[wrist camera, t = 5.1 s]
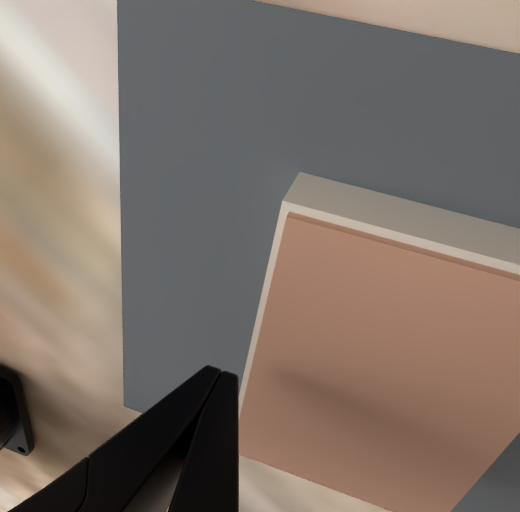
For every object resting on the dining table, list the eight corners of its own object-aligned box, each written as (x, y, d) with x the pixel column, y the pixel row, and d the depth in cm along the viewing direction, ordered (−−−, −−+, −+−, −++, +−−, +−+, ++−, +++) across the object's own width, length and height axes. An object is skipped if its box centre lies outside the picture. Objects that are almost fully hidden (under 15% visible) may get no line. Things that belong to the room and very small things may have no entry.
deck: (246, 394, 15) (430, 458, 14) (225, 452, 13) (440, 533, 12) (299, 171, 10) (583, 245, 9) (279, 205, 8) (644, 305, 7)
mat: (488, 533, 15) (489, 541, 15) (127, 400, 18) (124, 405, 17) (905, 131, 7) (924, 135, 7) (123, -25, 9) (116, -27, 9)
